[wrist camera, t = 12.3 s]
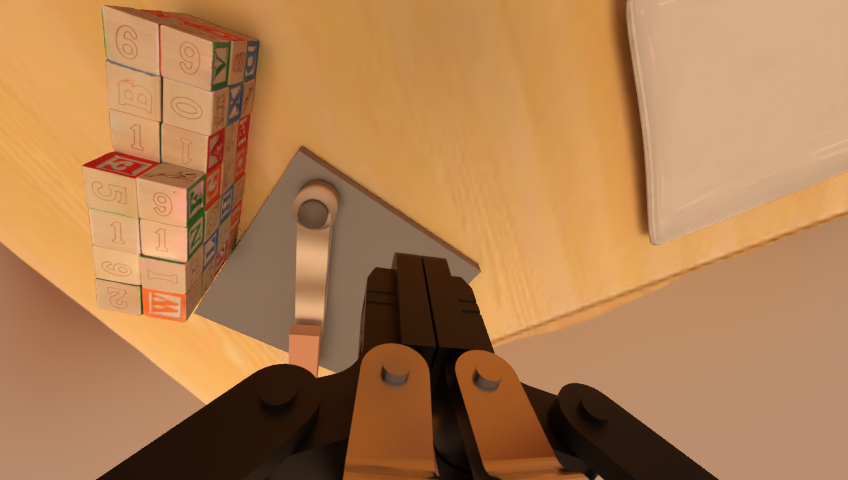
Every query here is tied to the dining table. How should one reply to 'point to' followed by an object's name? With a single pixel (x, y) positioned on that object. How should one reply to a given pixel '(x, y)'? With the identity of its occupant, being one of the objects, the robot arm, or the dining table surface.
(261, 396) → the robot arm
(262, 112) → the dining table surface
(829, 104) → the square plate
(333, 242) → the board
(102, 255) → the stack of blocks
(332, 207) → the arm link
